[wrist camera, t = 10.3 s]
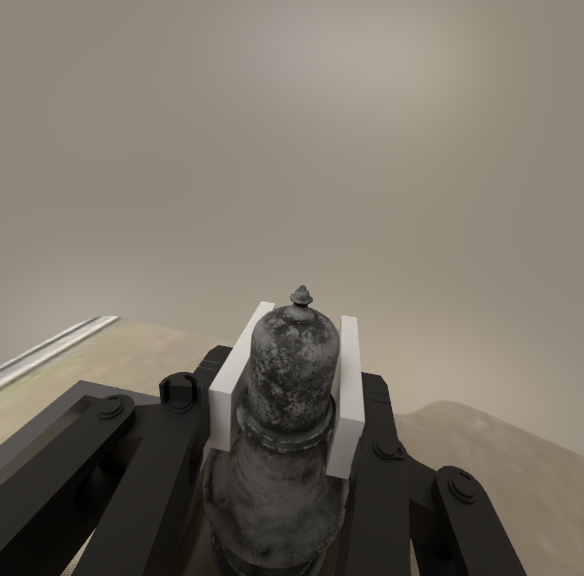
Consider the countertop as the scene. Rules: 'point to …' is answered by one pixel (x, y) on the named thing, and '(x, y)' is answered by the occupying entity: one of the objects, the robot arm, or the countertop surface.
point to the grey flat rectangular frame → (60, 415)
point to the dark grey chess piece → (280, 452)
